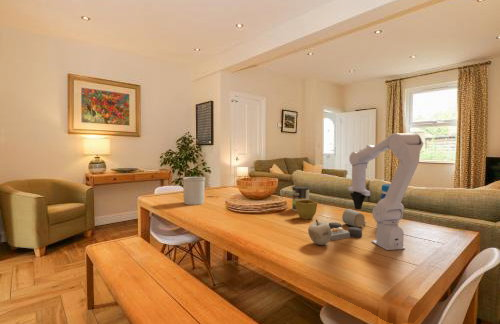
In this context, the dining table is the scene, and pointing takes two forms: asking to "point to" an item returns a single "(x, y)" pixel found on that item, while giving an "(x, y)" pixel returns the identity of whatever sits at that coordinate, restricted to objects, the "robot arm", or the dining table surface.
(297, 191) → the coffee can
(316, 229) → the decorative object
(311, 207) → the flower pot
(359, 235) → the cord coil
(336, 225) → the cord coil
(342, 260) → the dining table surface
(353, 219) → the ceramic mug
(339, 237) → the grey egg carton
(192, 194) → the utensil holder
